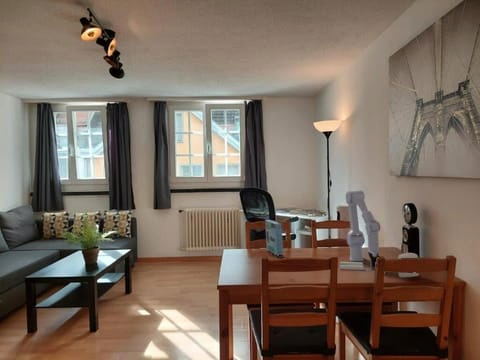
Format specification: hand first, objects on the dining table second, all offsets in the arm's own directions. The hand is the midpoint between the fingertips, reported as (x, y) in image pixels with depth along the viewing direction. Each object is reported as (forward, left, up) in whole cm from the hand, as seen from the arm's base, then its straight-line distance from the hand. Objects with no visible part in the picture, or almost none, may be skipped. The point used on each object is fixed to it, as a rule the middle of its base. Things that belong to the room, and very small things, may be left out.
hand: (374, 265), depth 194 cm
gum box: (-28, -64, -2) cm, 70 cm away
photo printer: (+12, +16, -2) cm, 20 cm away
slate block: (0, 0, -1) cm, 1 cm away
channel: (0, -12, -1) cm, 13 cm away
